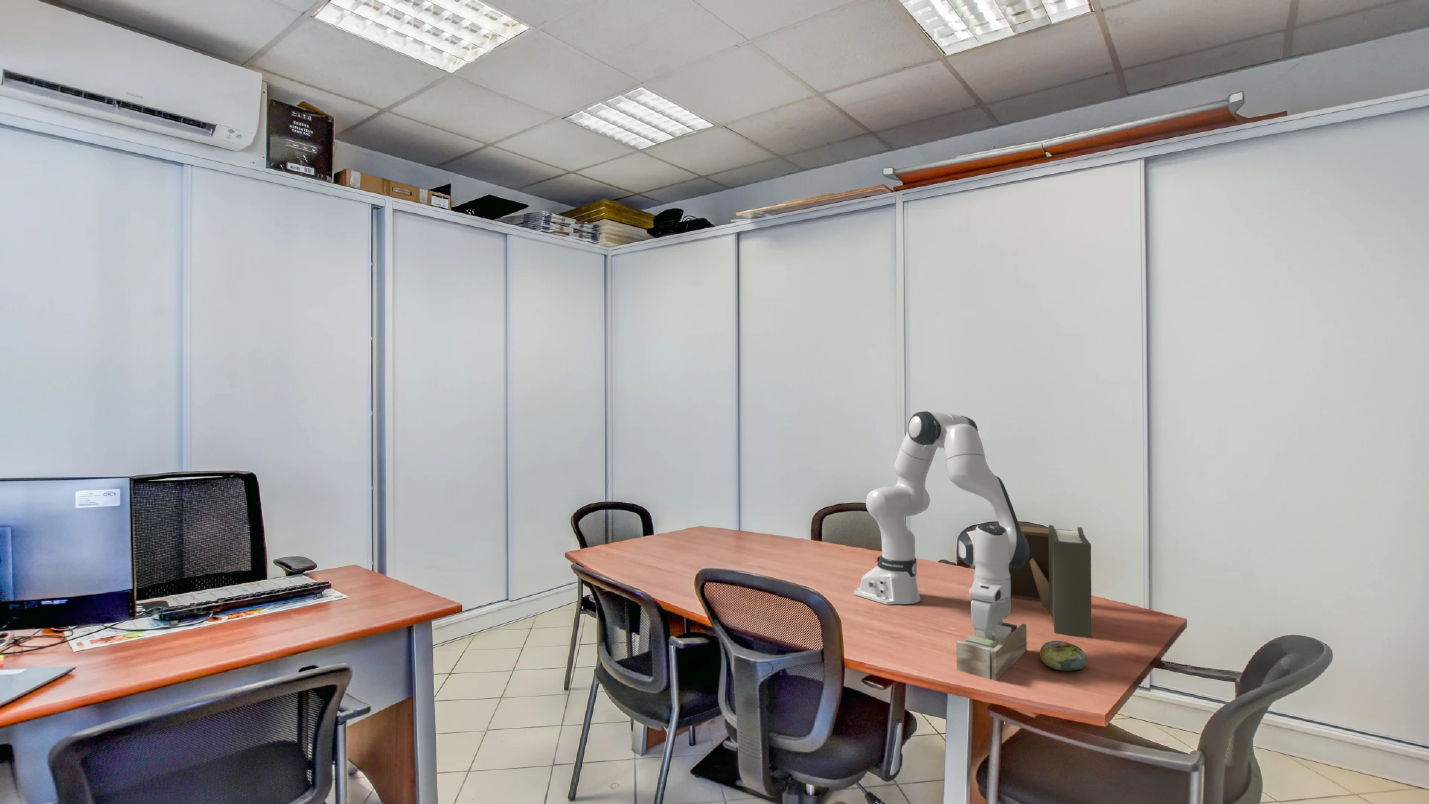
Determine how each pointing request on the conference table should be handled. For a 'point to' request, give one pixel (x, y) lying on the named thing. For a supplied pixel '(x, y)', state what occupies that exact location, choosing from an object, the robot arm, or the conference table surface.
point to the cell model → (1063, 656)
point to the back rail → (1002, 655)
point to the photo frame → (1033, 568)
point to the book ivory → (996, 633)
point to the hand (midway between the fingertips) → (992, 638)
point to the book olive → (982, 641)
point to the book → (1070, 582)
